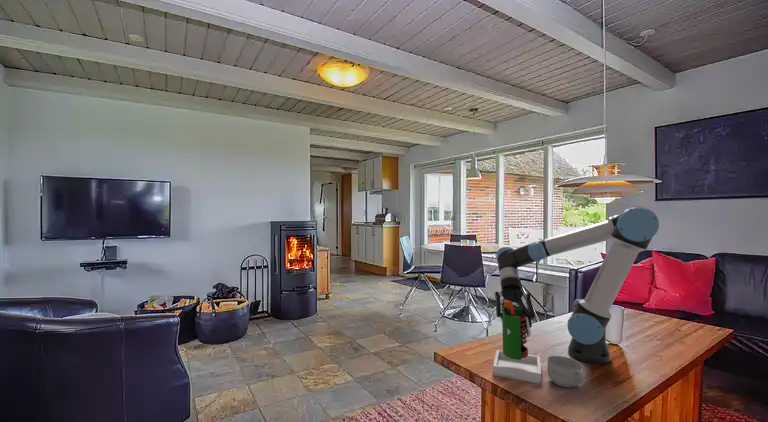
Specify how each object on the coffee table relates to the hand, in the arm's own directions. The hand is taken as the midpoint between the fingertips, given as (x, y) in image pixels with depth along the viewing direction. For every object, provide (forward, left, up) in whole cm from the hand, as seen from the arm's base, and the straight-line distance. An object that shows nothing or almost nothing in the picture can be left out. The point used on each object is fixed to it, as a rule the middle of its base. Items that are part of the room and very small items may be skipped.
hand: (518, 334), depth 136 cm
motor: (+1, -4, -9) cm, 10 cm away
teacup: (-16, +2, -15) cm, 22 cm away
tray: (0, -3, -15) cm, 15 cm away
